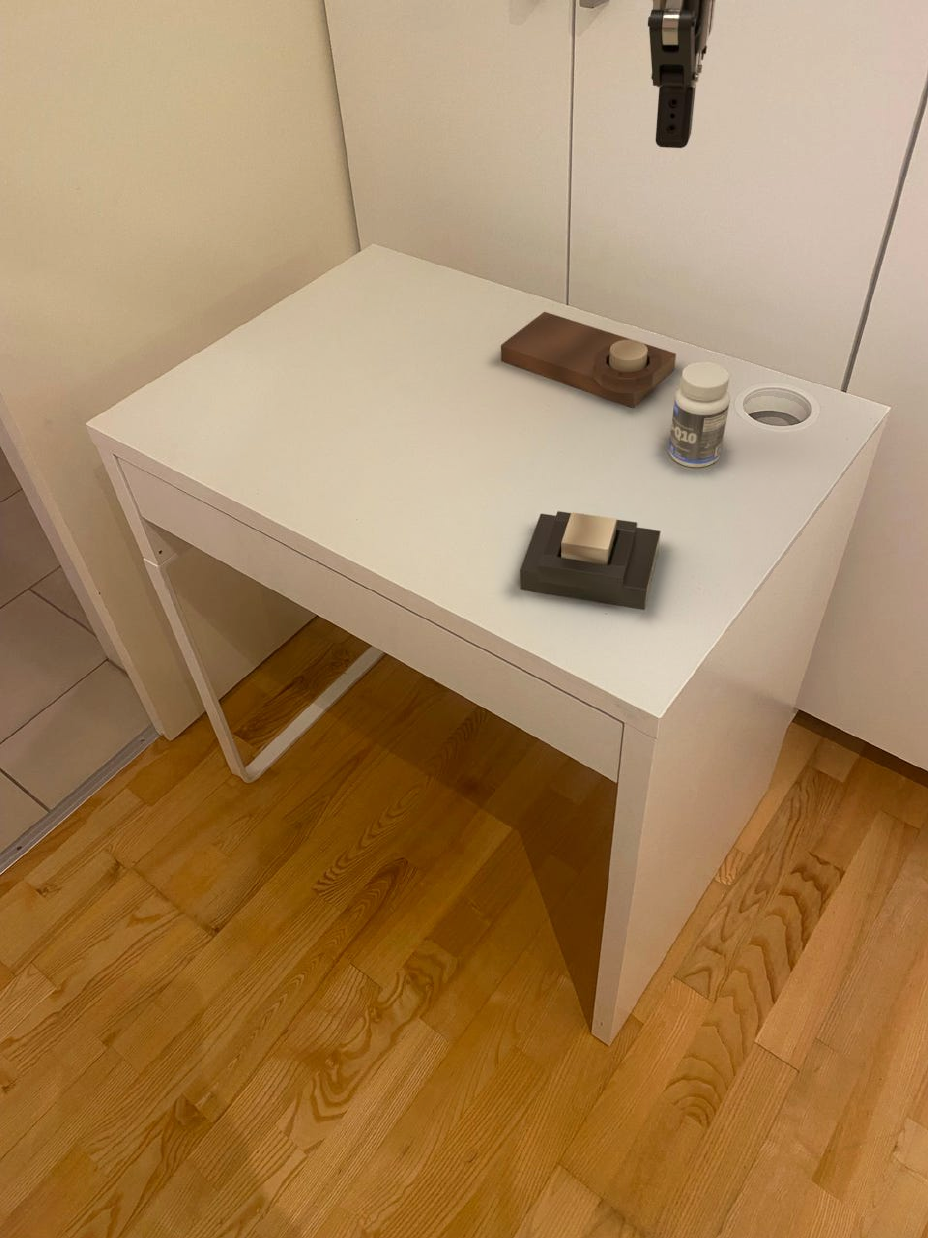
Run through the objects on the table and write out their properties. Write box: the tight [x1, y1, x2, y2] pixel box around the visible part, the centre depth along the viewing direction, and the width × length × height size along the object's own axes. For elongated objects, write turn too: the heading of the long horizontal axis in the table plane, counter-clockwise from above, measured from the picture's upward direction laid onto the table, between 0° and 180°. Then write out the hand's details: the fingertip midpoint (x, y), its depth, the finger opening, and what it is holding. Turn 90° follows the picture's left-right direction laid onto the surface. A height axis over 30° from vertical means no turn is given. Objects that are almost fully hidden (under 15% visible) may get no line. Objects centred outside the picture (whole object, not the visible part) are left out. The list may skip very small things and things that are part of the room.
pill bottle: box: [668, 361, 731, 468], centre depth 85 cm, size 5×5×8 cm
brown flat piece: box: [500, 311, 677, 409], centre depth 97 cm, size 17×9×4 cm, turn 52°
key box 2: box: [519, 510, 661, 610], centre depth 76 cm, size 10×8×4 cm
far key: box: [609, 339, 648, 372], centre depth 92 cm, size 4×4×2 cm
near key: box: [561, 512, 618, 565], centre depth 74 cm, size 4×4×2 cm
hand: (672, 142), depth 65 cm, fingers closed
